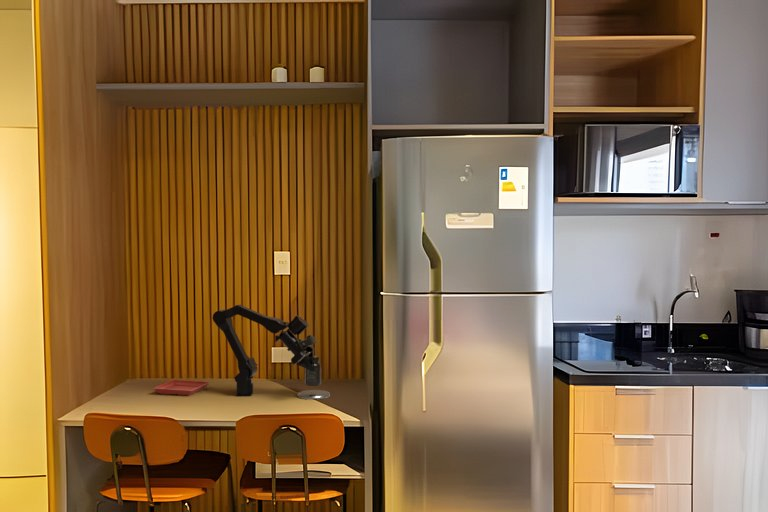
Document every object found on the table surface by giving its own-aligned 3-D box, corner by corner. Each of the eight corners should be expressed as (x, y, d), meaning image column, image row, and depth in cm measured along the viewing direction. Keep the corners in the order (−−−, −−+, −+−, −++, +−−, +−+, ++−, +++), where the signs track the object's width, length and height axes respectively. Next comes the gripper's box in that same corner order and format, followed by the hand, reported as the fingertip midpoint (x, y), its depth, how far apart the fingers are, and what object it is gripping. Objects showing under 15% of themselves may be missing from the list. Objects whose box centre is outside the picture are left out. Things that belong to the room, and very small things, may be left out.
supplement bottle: (310, 382, 285) (310, 354, 285) (323, 383, 282) (324, 356, 282) (301, 384, 279) (302, 356, 279) (315, 386, 276) (315, 358, 276)
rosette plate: (297, 400, 275) (297, 397, 275) (297, 392, 289) (297, 390, 289) (330, 399, 277) (330, 396, 277) (329, 391, 291) (329, 389, 291)
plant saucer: (210, 388, 299) (210, 381, 299) (191, 397, 281) (191, 389, 281) (173, 386, 302) (173, 379, 302) (152, 395, 284) (152, 388, 284)
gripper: (298, 332, 271) (324, 360, 270) (310, 326, 290) (334, 352, 288) (280, 350, 273) (305, 378, 271) (292, 343, 291) (316, 369, 290)
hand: (316, 369), depth 280 cm, fingers closed on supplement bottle, 7 cm apart
